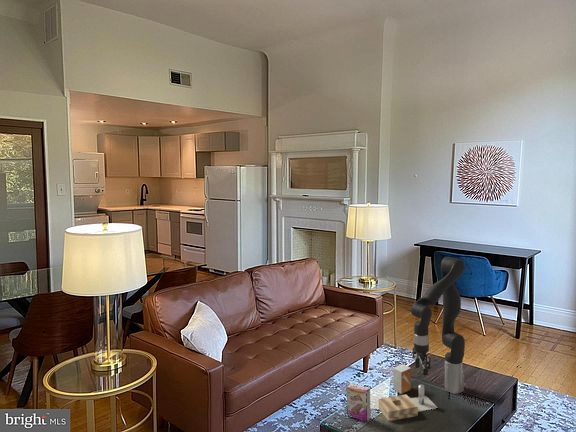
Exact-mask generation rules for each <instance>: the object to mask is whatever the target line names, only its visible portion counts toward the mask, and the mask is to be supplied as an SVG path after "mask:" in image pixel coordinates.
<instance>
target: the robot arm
mask: <svg viewBox="0 0 576 432" xmlns="http://www.w3.org/2000/svg"><path fill="white" fill-rule="evenodd" d="M465 269H466V263H465V262H464V260H462V259H460V258H456V257H450V256H445V257H443V258H442V260H441V262H440V273H441V279H439V280H438V281H436V282H435V283H433V284H431V286H430V287H429V288H428V289H427V291H426V292H424V295H423V296H421V297H420V298H418V299H417V300H416V301H415V302H414V303H413V304H412V306H411V308H410V312H411V315H412V316H413V317H416V318H419V319H420V321H419V320H417V321H415V322H414V326H413V329H414V330H413V347H412V359H413V360H414V368H416V369H419V368H420V364H421V365H422V369H423V370H422V371H423V373H422V375H423V376H428V373H429V371H428V370H429V369H431V368H432V367H431V357H430V356H428V355H427V353H429V350H430V337H429V327H430V326H429V325H430V324H431V319H432V317H433V316H432V315H433V312H432V309H431V307H430V306H432V307H433V306H435V305H436V304H437V302H438V301H439V300H440V298H441V297H442V309H443V310H442V329H441V343H442V345H444V346H445V347H446V348H449V349H450V352H447V353H445V355H444V390H445V391H446V392H448V393H449V392H450V394H456V395H457V394H458V395H459V394H462V393H463V392H464V391H465V375H464V373H463V363H464V362H463V359H464V357H465V348H466V346H465V345H466V343H465V342H466V341H465V338H464V336H463V335H462V334H460V333H458V332H456V331H455V322H456V320H457V318H458V316H459V315H460V313H461V311H462V302H461V301H462V298H461V295H460V293H459V291H458V289H457V287H456V285H455V282H456V281H457V280H458V279H459V277H461V275H463V273H464V271H465Z"/></svg>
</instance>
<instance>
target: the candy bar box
mask: <svg viewBox="0 0 576 432" xmlns="http://www.w3.org/2000/svg"><path fill="white" fill-rule="evenodd" d="M347 415H349V416H352V417H354V418H357V419H356V420H358V419H360V420H359V421H361V420H363V421H362V422H364V421H365V423H368V422H369V421H370V419H371V387H368V386H367V387H366V386H363V385H358V384H357V383H356V384H355V383H351V382H349V384H348V385H346V416H347ZM354 418H353V419H354Z"/></svg>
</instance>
